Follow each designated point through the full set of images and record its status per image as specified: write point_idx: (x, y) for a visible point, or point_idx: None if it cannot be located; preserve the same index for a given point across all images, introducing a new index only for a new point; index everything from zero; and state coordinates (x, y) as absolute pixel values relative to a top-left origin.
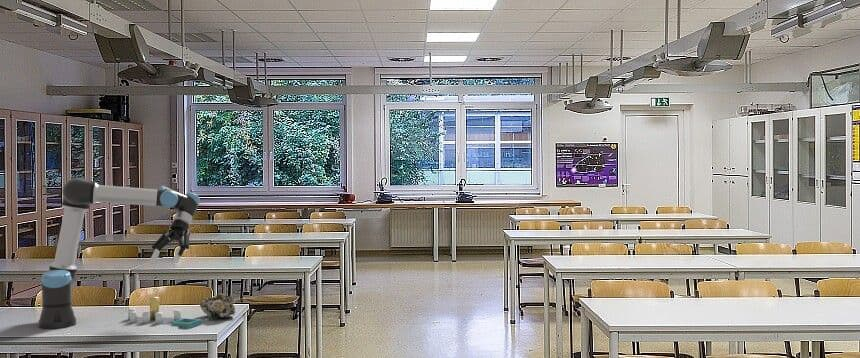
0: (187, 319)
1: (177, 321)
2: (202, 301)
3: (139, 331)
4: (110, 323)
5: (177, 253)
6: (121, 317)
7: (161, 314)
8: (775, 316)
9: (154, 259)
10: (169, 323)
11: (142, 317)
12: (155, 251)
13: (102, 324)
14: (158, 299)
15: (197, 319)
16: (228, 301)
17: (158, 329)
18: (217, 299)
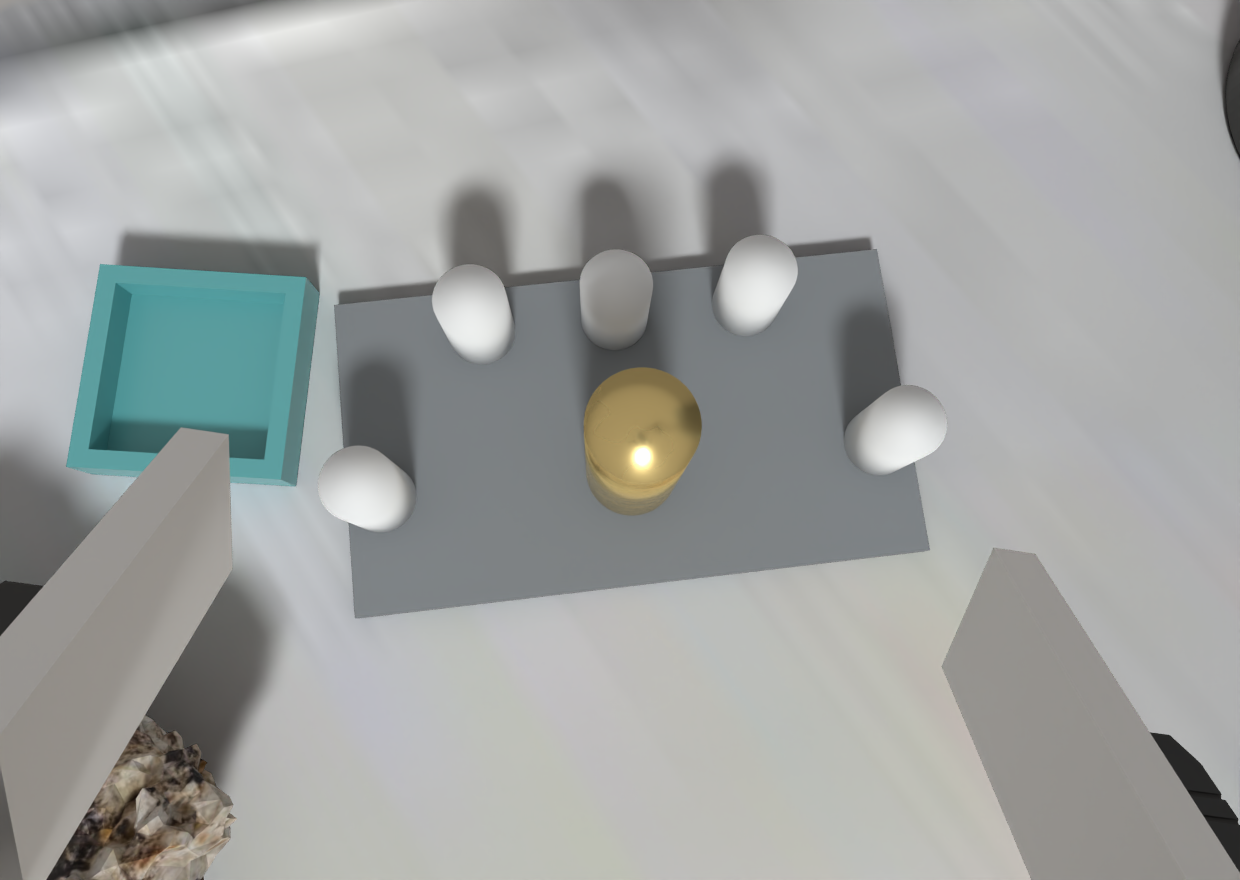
0: (234, 458)
1: (281, 345)
2: (162, 802)
3: (498, 77)
4: (983, 293)
5: (69, 568)
6: (1092, 566)
7: (434, 296)
8: None
9: (994, 687)
10: (378, 350)
11: (825, 536)
12: (1125, 790)
13: (1020, 239)
14: (584, 437)
15: (110, 455)
16: None
17: (381, 182)
18: None
